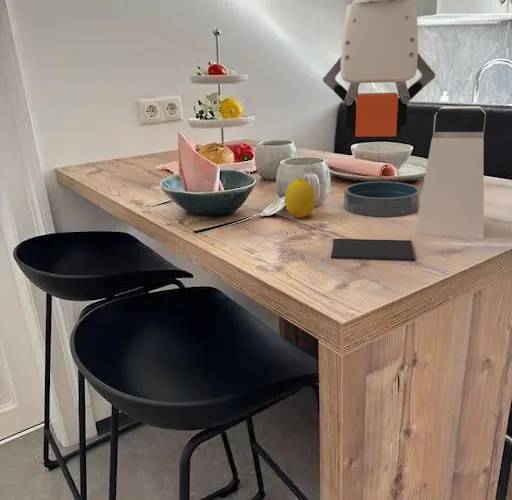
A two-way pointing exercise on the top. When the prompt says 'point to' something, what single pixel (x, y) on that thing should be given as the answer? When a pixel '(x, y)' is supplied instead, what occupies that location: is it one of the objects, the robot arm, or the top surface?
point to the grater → (454, 185)
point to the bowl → (382, 199)
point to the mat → (372, 249)
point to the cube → (376, 114)
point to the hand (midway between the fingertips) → (375, 131)
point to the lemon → (299, 198)
